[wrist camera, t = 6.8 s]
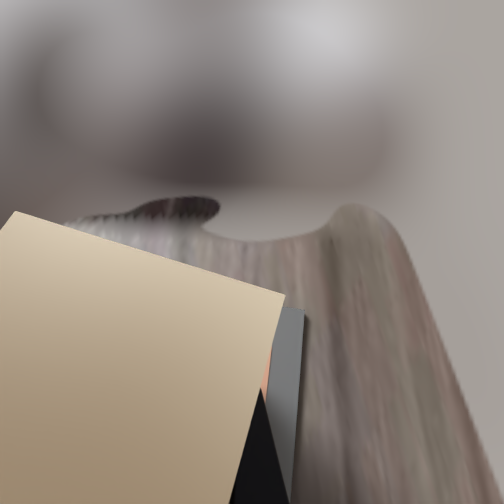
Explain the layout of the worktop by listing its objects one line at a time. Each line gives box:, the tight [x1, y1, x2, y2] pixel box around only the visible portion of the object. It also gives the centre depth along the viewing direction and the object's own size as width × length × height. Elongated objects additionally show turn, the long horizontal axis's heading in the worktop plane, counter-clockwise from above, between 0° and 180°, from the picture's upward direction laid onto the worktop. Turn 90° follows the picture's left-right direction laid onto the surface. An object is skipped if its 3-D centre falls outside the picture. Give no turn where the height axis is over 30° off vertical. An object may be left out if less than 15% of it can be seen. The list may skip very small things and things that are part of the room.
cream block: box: [0, 211, 285, 504], centre depth 8 cm, size 5×3×13 cm, turn 163°
